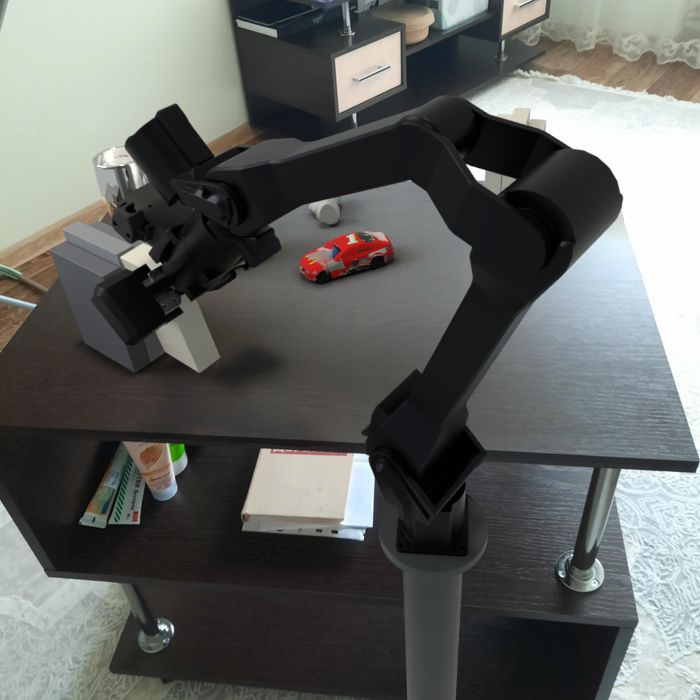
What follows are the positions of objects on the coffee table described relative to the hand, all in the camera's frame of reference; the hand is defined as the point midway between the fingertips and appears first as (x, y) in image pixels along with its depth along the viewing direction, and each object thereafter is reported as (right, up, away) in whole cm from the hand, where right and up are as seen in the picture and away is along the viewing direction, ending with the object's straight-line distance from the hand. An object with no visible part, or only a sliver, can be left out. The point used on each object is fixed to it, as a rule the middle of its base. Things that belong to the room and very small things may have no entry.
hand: (162, 301), depth 78 cm
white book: (+2, -6, +4) cm, 7 cm away
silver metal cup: (-10, +9, +28) cm, 31 cm away
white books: (+44, +14, +29) cm, 54 cm away
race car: (+20, +6, +22) cm, 30 cm away
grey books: (-7, -4, +11) cm, 14 cm away
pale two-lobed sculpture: (+16, +15, +33) cm, 40 cm away
